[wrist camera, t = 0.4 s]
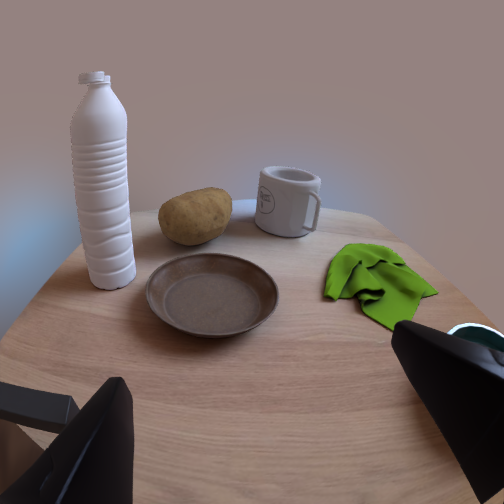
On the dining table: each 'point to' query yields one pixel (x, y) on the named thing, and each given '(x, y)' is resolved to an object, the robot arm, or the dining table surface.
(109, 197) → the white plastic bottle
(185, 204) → the potato
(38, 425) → the ladle
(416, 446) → the dining table surface
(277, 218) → the mug
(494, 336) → the bowl
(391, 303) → the cloth
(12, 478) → the brown rectangular block
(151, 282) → the saucer
